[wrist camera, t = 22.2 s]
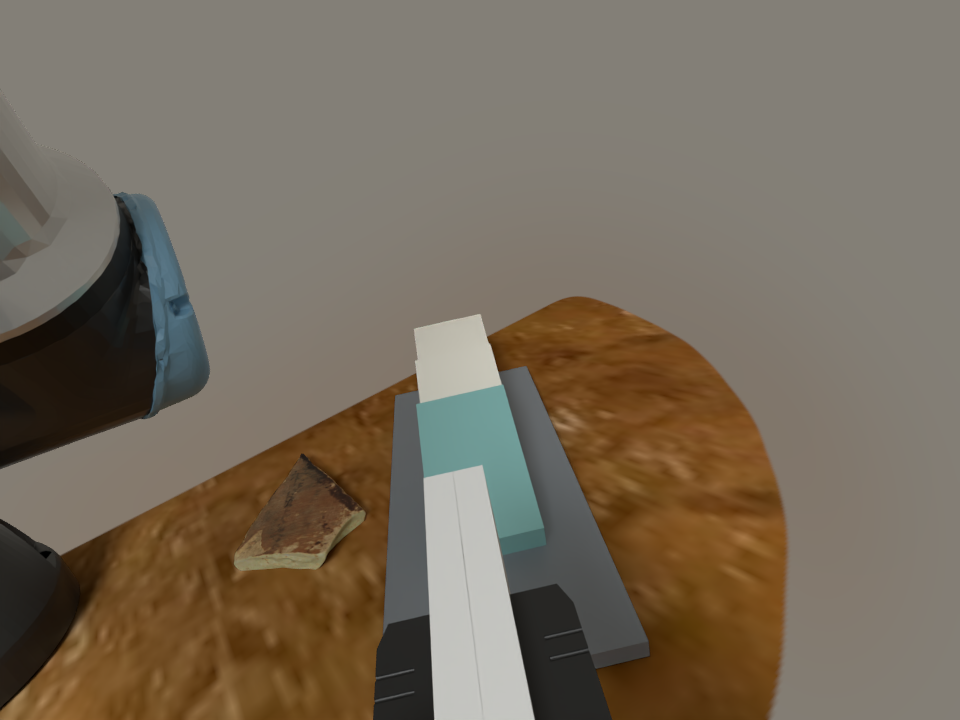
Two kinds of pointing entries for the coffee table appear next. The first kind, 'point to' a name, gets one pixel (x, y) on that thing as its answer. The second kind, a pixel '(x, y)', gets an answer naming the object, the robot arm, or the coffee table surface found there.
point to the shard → (299, 522)
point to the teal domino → (484, 458)
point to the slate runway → (563, 560)
